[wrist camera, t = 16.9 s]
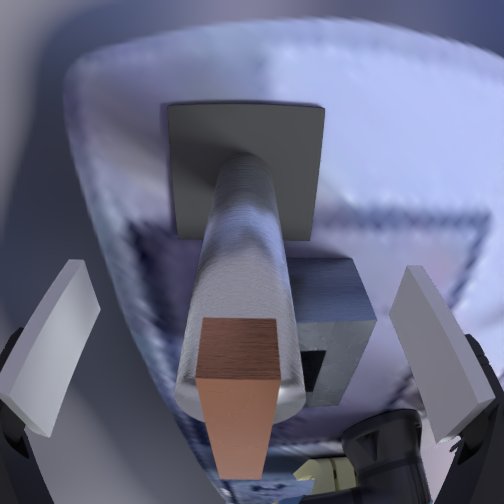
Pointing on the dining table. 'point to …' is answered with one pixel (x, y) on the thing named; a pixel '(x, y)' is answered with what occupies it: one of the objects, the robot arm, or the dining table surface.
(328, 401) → the block
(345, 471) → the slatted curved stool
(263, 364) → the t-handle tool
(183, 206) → the rubber mat
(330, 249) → the dining table surface
